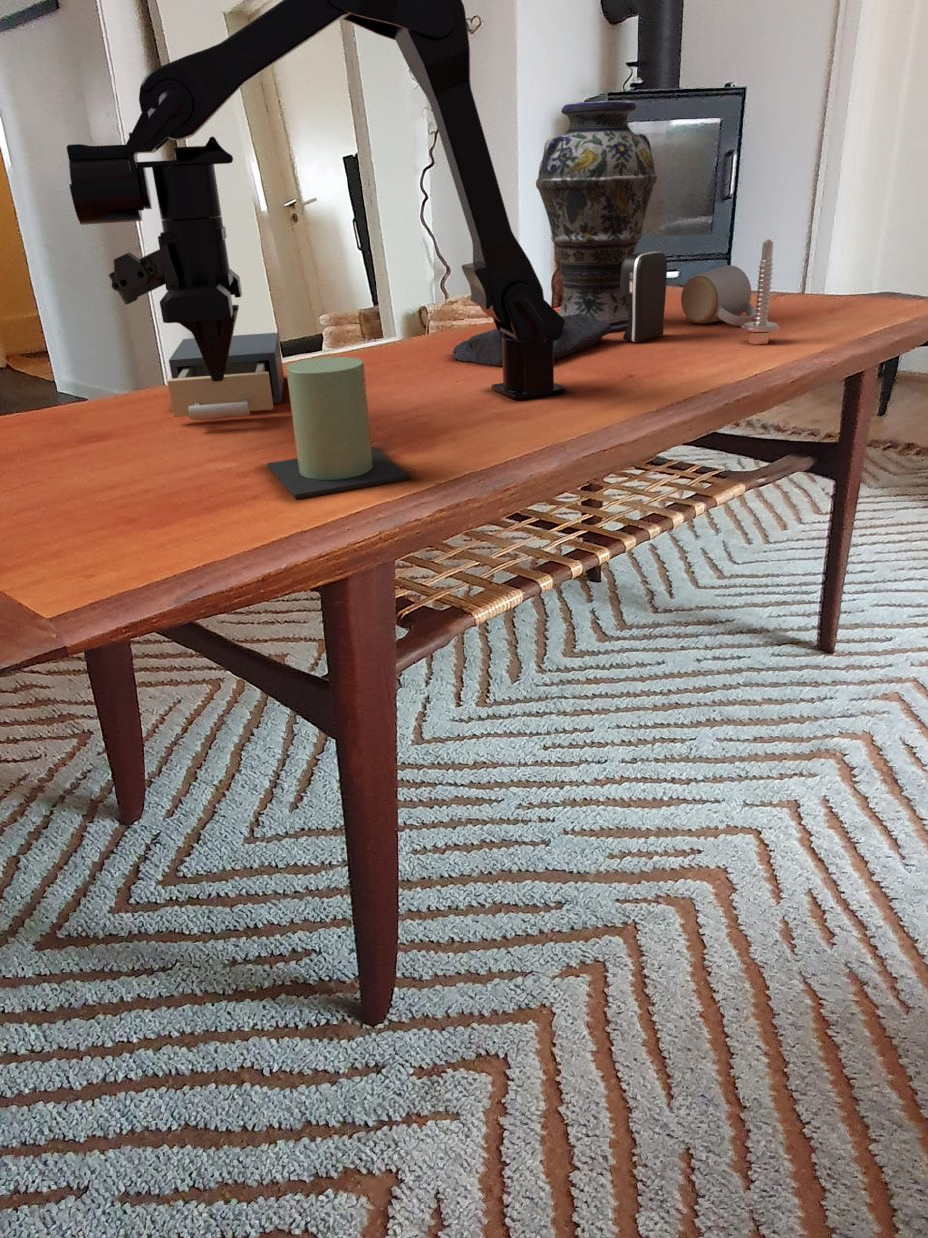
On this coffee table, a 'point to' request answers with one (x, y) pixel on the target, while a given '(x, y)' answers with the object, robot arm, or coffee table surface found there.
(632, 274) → the battery charger
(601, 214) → the vase
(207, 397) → the drawer
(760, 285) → the screw
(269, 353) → the cabinet
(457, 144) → the robot arm
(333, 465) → the can
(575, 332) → the dark slate chunk
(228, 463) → the coffee table surface
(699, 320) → the ceramic mug
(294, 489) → the coaster
